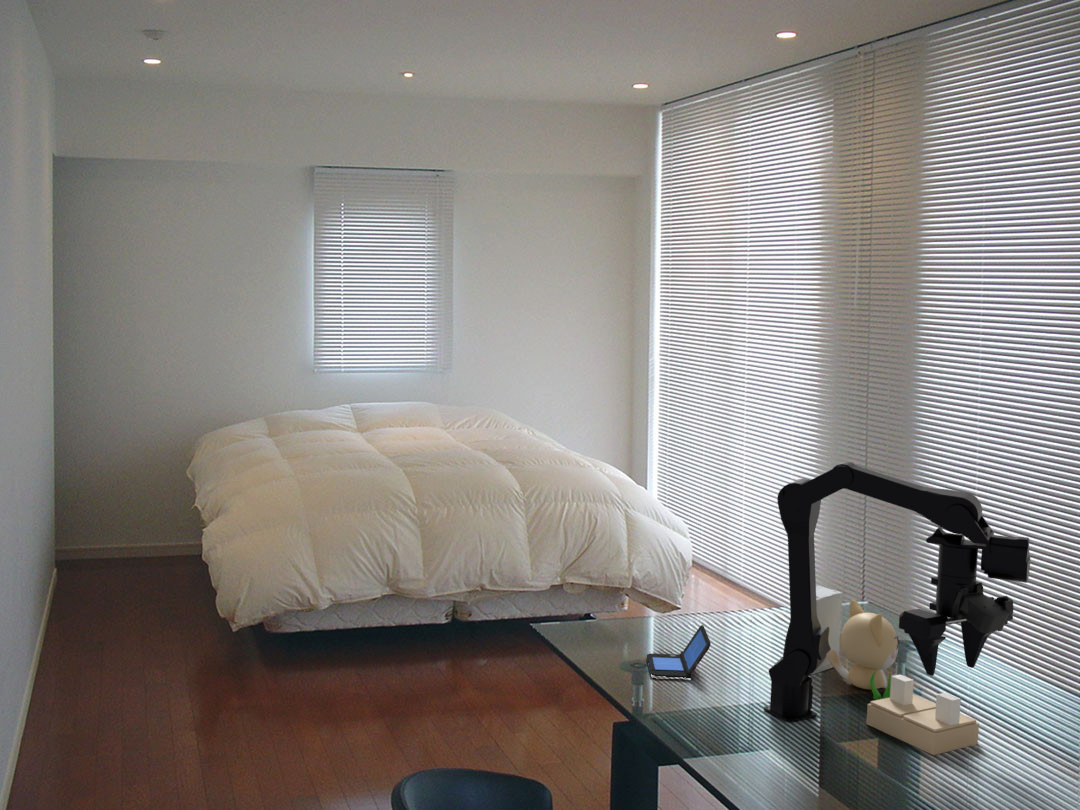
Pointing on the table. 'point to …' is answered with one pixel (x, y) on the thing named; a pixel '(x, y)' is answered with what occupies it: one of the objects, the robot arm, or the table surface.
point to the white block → (941, 714)
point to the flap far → (903, 698)
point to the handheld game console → (681, 657)
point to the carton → (922, 732)
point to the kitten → (866, 650)
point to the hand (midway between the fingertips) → (950, 671)
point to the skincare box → (829, 619)
